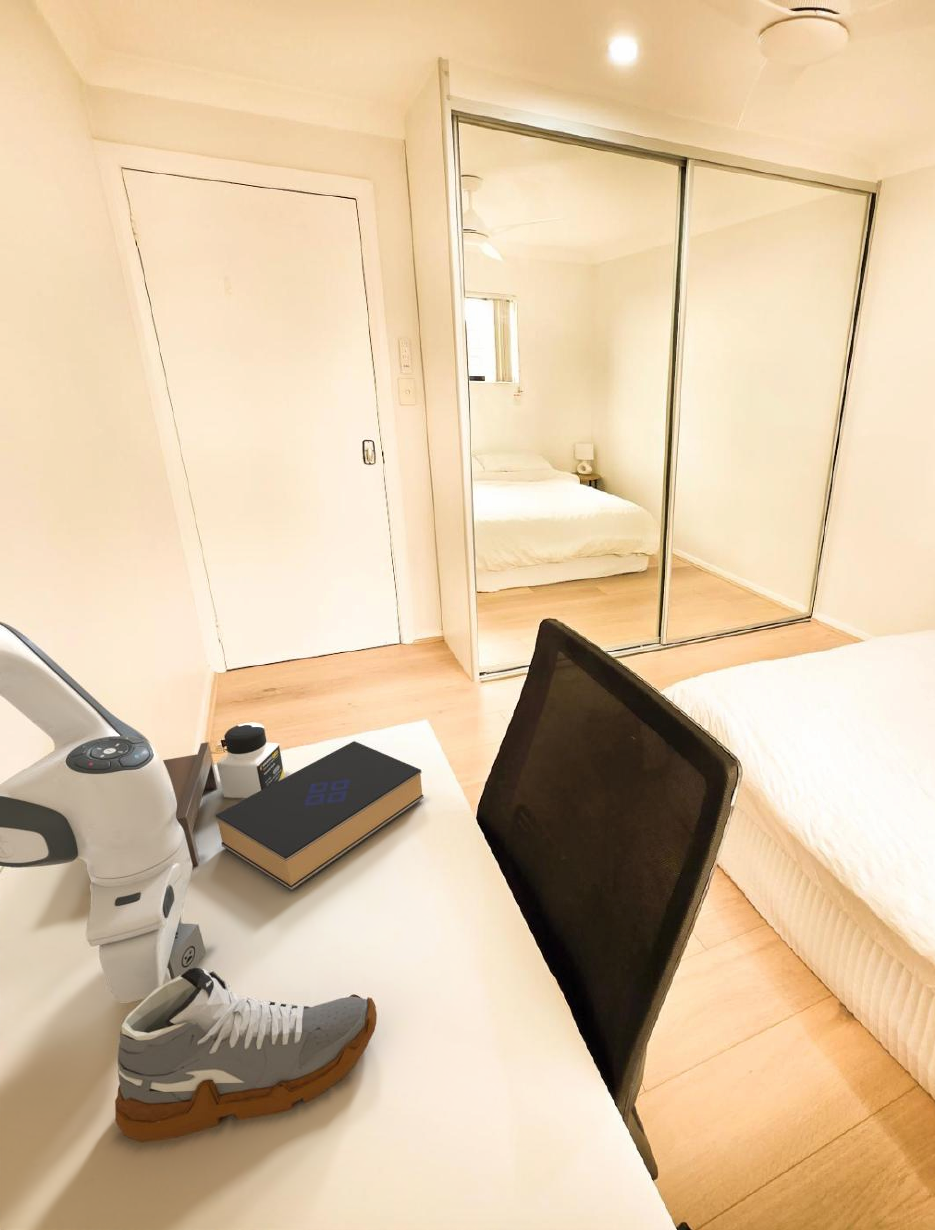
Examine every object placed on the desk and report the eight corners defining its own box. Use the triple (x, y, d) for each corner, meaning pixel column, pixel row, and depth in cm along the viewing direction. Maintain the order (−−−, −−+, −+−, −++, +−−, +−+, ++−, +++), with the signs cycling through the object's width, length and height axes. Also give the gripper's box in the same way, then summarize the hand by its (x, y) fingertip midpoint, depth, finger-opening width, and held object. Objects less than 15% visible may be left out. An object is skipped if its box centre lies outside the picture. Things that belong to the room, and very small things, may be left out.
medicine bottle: (263, 799, 106) (252, 740, 101) (223, 798, 106) (210, 738, 101) (285, 775, 112) (275, 719, 108) (247, 774, 112) (235, 717, 108)
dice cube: (206, 954, 76) (198, 924, 75) (178, 990, 72) (169, 959, 70) (167, 952, 77) (158, 922, 75) (136, 988, 72) (126, 957, 70)
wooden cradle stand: (97, 891, 85) (81, 839, 82) (137, 800, 104) (124, 755, 101) (198, 867, 90) (186, 817, 87) (218, 785, 109) (208, 741, 106)
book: (222, 850, 94) (214, 814, 92) (357, 771, 114) (353, 740, 112) (292, 895, 86) (285, 857, 84) (424, 801, 107) (421, 769, 104)
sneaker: (376, 1089, 62) (361, 983, 57) (102, 1163, 56) (57, 1050, 51) (382, 1007, 71) (369, 908, 66) (144, 1062, 64) (109, 957, 59)
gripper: (133, 821, 76) (157, 906, 81) (79, 949, 59) (113, 1047, 64) (192, 809, 79) (212, 892, 84) (157, 928, 62) (185, 1024, 66)
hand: (169, 960), depth 74 cm, fingers closed on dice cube, 5 cm apart
